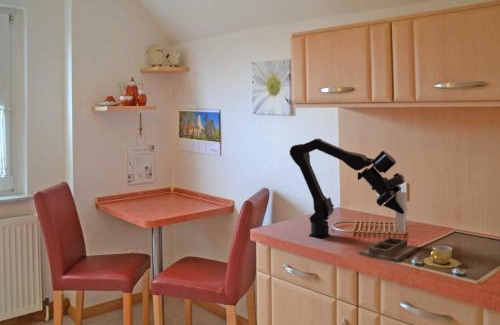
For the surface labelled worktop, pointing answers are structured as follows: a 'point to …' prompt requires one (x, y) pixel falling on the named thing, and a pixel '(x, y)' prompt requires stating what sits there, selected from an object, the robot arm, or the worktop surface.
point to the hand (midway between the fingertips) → (404, 211)
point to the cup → (441, 257)
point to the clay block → (400, 218)
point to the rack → (389, 249)
